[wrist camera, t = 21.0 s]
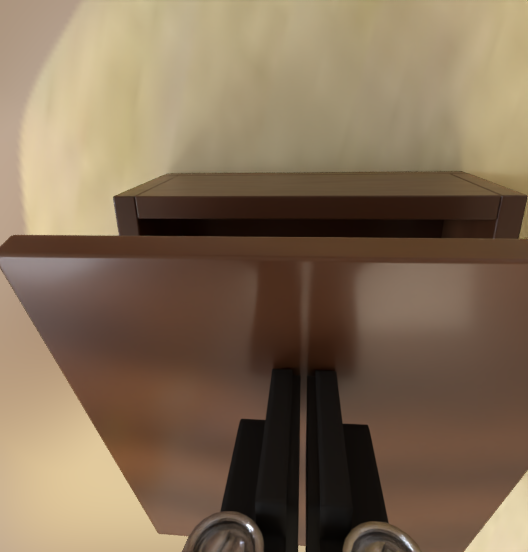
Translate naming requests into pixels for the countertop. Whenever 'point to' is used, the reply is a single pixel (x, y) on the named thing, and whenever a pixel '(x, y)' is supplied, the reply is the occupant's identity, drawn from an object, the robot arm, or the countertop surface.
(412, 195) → the bin
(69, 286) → the bin lid
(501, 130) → the countertop surface
